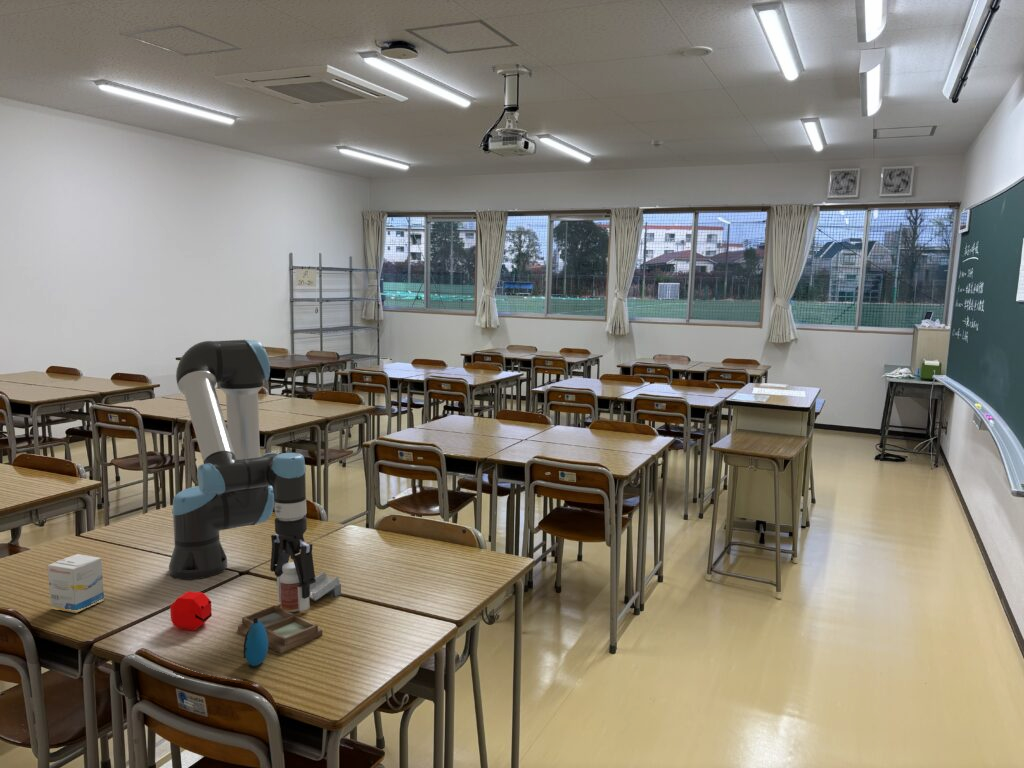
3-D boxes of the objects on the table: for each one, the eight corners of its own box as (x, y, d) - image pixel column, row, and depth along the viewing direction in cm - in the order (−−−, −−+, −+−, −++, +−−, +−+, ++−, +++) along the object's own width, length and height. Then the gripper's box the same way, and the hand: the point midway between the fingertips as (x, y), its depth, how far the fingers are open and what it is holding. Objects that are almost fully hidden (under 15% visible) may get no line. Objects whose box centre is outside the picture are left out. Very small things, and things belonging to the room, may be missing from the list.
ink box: (105, 601, 182) (102, 556, 180) (75, 615, 174) (72, 568, 172) (80, 596, 185) (77, 552, 183) (49, 609, 177) (46, 564, 175)
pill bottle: (309, 609, 178) (308, 566, 177) (284, 615, 175) (283, 571, 173) (302, 600, 183) (300, 558, 182) (277, 606, 180) (276, 563, 178)
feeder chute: (299, 599, 184) (298, 580, 183) (326, 588, 190) (326, 570, 190) (313, 605, 180) (313, 586, 179) (341, 594, 187) (340, 576, 186)
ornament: (250, 653, 156) (248, 610, 155) (272, 652, 156) (270, 609, 155) (239, 673, 148) (237, 627, 146) (262, 672, 148) (261, 626, 147)
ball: (197, 635, 164) (195, 603, 163) (165, 632, 165) (163, 601, 164) (217, 620, 172) (215, 589, 171) (186, 617, 173) (185, 587, 172)
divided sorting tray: (237, 630, 166) (237, 619, 166) (279, 614, 175) (278, 603, 175) (280, 653, 156) (280, 641, 156) (322, 634, 165) (322, 623, 164)
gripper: (253, 512, 179) (256, 598, 182) (303, 528, 167) (306, 621, 169) (279, 505, 185) (281, 589, 188) (329, 521, 173) (332, 611, 175)
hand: (293, 604), depth 179 cm, fingers open, 8 cm apart
